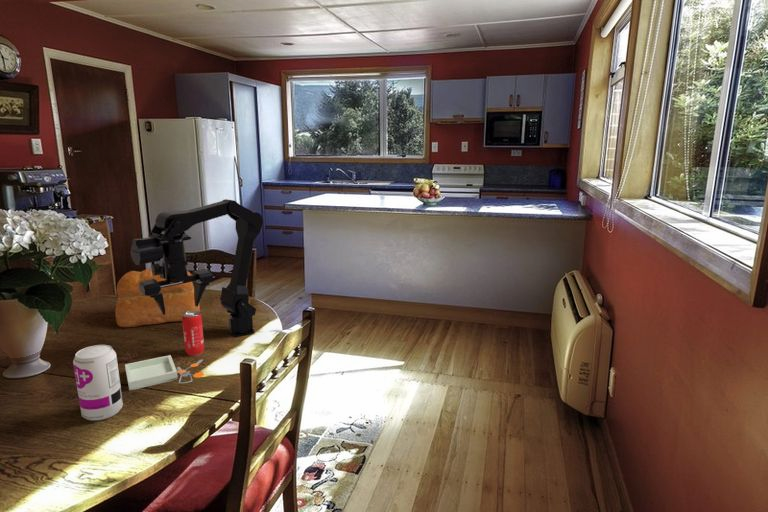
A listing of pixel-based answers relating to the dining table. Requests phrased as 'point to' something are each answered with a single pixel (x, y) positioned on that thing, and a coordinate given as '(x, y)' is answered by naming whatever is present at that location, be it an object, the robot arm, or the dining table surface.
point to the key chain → (189, 371)
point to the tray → (150, 372)
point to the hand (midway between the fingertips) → (180, 310)
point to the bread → (151, 301)
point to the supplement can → (98, 382)
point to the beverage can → (193, 332)
